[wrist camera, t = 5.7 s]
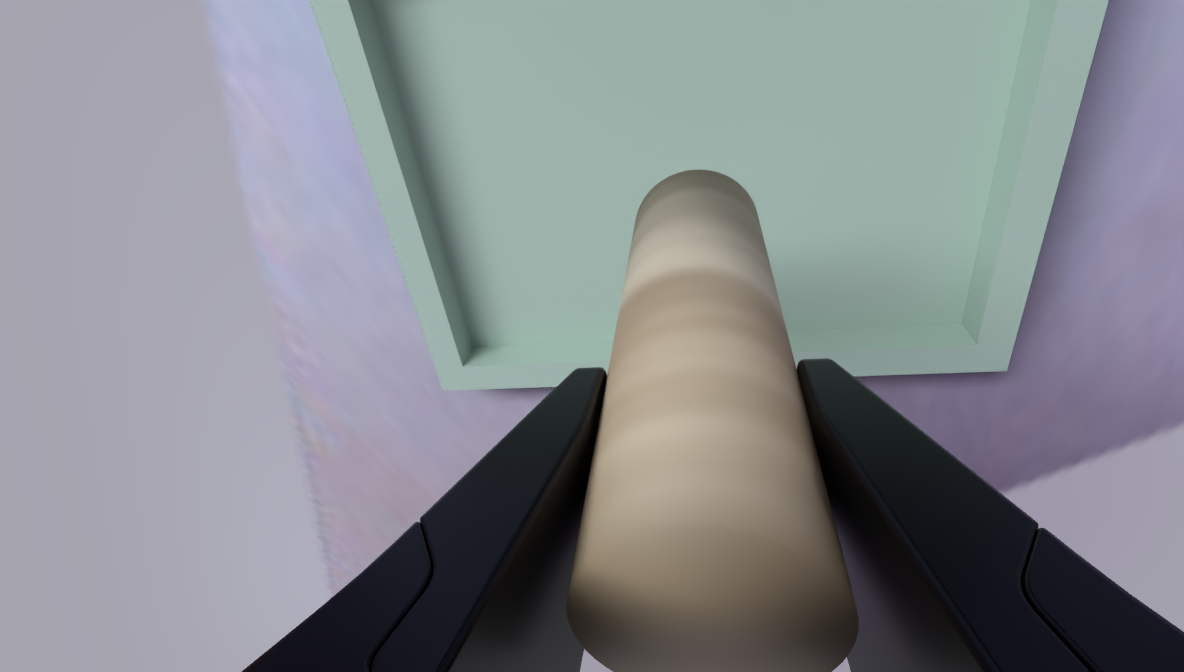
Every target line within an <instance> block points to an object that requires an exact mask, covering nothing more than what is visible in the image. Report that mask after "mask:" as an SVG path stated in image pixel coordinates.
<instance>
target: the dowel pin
mask: <svg viewBox="0 0 1184 672" xmlns="http://www.w3.org/2000/svg"><path fill="white" fill-rule="evenodd" d="M566 611H567V617H568V622H569V624H570V627H571V629H572V631H573V633H574V635H575V637H576V638H577V640H578V641H579V642H580V644H581V645H582V646H583V647H584V649H585V650H586V651H587V652H588V653H589V654H591V655H592V656H593V657H594V658H595V659H596V660H598V661H599V662H600V663H601V664H603V665H604V666H606V667H607V668H609V669H610V670H612V671H614V672H832V671H833V670H834V669H835V668H836V667H838V665H840V664H841V663H842V662H843V661H844V659H845V658H846V657H847V656H848V655H849V653H850V652H851V650H852V648H853V646H854V644H855V642H856V638H857V635H858V629H859V618H858V613H857V608H856V604H855V600H854V596H853V592H852V588H851V584H850V580H849V576H848V573H847V569H846V565H845V561H844V557H843V553H842V549H841V545H840V541H839V537H838V533H837V529H836V525H835V521H834V517H833V513H832V509H831V505H830V501H829V497H828V493H827V489H826V485H825V481H824V477H823V473H822V469H821V465H820V461H819V457H818V453H817V449H816V445H815V441H814V437H813V433H812V429H811V425H810V421H809V417H808V413H807V409H806V405H805V401H804V397H803V393H802V389H801V385H800V381H799V377H798V373H797V369H796V365H795V361H794V357H793V353H792V349H791V345H790V341H789V337H788V333H787V329H786V325H785V321H784V317H783V313H782V309H781V305H780V301H779V297H778V293H777V289H776V285H775V281H774V277H773V273H772V270H771V266H770V262H769V258H768V254H767V250H766V246H765V242H764V238H763V234H762V230H761V226H760V222H759V218H758V214H757V210H756V207H755V204H754V202H753V200H752V198H751V197H750V195H749V194H748V192H747V191H746V190H745V189H744V188H743V187H742V186H741V185H740V184H739V183H738V182H736V181H735V180H734V179H732V178H730V177H728V176H726V175H724V174H721V173H719V172H715V171H711V170H702V169H700V170H688V171H683V172H679V173H676V174H674V175H671V176H669V177H667V178H665V179H664V180H662V181H660V182H659V183H658V184H657V185H655V186H654V187H653V188H652V189H651V190H650V191H649V192H648V194H647V195H646V196H645V198H644V199H643V201H642V203H641V205H640V207H639V209H638V212H637V216H636V220H635V225H634V231H633V236H632V242H631V247H630V253H629V258H628V264H627V269H626V275H625V280H624V286H623V291H622V297H621V302H620V308H619V313H618V319H617V324H616V330H615V335H614V341H613V347H612V352H611V358H610V363H609V369H608V374H607V380H606V385H605V391H604V396H603V402H602V407H601V413H600V418H599V424H598V429H597V435H596V440H595V446H594V451H593V457H592V462H591V468H590V473H589V479H588V484H587V490H586V495H585V501H584V506H583V512H582V517H581V523H580V528H579V534H578V539H577V545H576V550H575V556H574V561H573V567H572V572H571V578H570V583H569V589H568V595H567V603H566Z"/></svg>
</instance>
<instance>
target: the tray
mask: <svg viewBox="0 0 1184 672" xmlns="http://www.w3.org/2000/svg"><path fill="white" fill-rule="evenodd" d="M309 1H310V4H311V7H312V10H313V13H314V15H315V18H316V21H317V24H318V27H319V30H320V33H321V36H322V39H323V42H324V45H325V48H326V50H327V53H328V56H329V59H330V62H331V65H332V68H333V71H334V74H335V77H336V80H337V83H338V86H339V88H340V91H341V94H342V97H343V100H344V103H345V106H346V109H347V112H348V115H349V118H350V121H351V124H352V126H353V129H354V132H355V135H356V138H357V141H358V144H359V147H360V150H361V153H362V156H363V159H364V162H365V164H366V167H367V170H368V173H369V176H370V179H371V182H372V185H373V188H374V191H375V194H376V197H377V200H378V202H379V205H380V208H381V211H382V214H383V217H384V220H385V223H386V226H387V229H388V232H389V235H390V237H391V240H392V243H393V246H394V249H395V252H396V255H397V258H398V261H399V264H400V267H401V270H402V273H403V275H404V278H405V281H406V284H407V287H408V290H409V293H410V296H411V299H412V302H413V305H414V308H415V311H416V313H417V316H418V319H419V322H420V325H421V328H422V331H423V334H424V337H425V340H426V343H427V346H428V349H429V351H430V354H431V357H432V360H433V363H434V366H435V369H436V372H437V375H438V378H439V381H440V384H441V387H442V389H443V391H449V390H478V389H507V388H535V387H557V386H558V385H559V384H560V383H561V382H562V381H563V380H564V379H565V378H566V377H567V376H568V375H569V374H570V373H571V372H572V371H574V370H575V369H577V368H588V367H602V368H604V370H605V371H606V374H608V369H609V363H610V358H611V352H612V347H613V341H614V335H615V330H616V324H617V319H618V313H619V308H620V302H621V297H622V291H623V286H624V280H625V275H626V269H627V264H628V258H629V253H630V247H631V242H632V236H633V231H634V225H635V220H636V216H637V212H638V209H639V207H640V205H641V203H642V201H643V199H644V198H645V196H646V195H647V194H648V192H649V191H650V190H651V189H652V188H653V187H654V186H655V185H657V184H658V183H659V182H660V181H662V180H664V179H665V178H667V177H669V176H671V175H674V174H676V173H679V172H683V171H688V170H700V169H702V170H711V171H715V172H719V173H721V174H724V175H726V176H728V177H730V178H732V179H734V180H735V181H736V182H738V183H739V184H740V185H741V186H742V187H743V188H744V189H745V190H746V191H747V192H748V194H749V195H750V197H751V198H752V200H753V202H754V204H755V207H756V210H757V214H758V218H759V222H760V226H761V230H762V234H763V238H764V242H765V246H766V250H767V254H768V258H769V262H770V266H771V270H772V273H773V277H774V281H775V285H776V289H777V293H778V297H779V301H780V305H781V309H782V313H783V317H784V321H785V325H786V329H787V333H788V337H789V341H790V345H791V349H792V353H793V357H794V361H795V365H796V369H797V365H798V363H799V361H800V360H802V359H821V358H829V359H832V360H833V361H835V362H836V363H837V364H839V365H840V366H841V367H842V368H844V369H845V370H846V371H847V372H849V373H850V374H851V375H852V376H880V375H909V374H938V373H966V372H995V371H1007V369H1008V365H1009V362H1010V358H1011V354H1012V351H1013V347H1014V343H1015V340H1016V336H1017V333H1018V329H1019V325H1020V322H1021V318H1022V314H1023V311H1024V307H1025V303H1026V300H1027V296H1028V293H1029V289H1030V285H1031V282H1032V278H1033V274H1034V271H1035V267H1036V263H1037V260H1038V256H1039V252H1040V249H1041V245H1042V242H1043V238H1044V234H1045V231H1046V227H1047V223H1048V220H1049V216H1050V212H1051V209H1052V205H1053V202H1054V198H1055V194H1056V191H1057V187H1058V183H1059V180H1060V176H1061V172H1062V169H1063V165H1064V162H1065V158H1066V154H1067V151H1068V147H1069V143H1070V140H1071V136H1072V132H1073V129H1074V125H1075V122H1076V118H1077V114H1078V111H1079V107H1080V103H1081V100H1082V96H1083V92H1084V89H1085V85H1086V81H1087V78H1088V74H1089V71H1090V67H1091V63H1092V60H1093V56H1094V52H1095V49H1096V45H1097V41H1098V38H1099V34H1100V31H1101V27H1102V23H1103V20H1104V16H1105V12H1106V9H1107V5H1108V1H1109V0H309Z"/></svg>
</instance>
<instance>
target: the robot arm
mask: <svg viewBox="0 0 1184 672" xmlns="http://www.w3.org/2000/svg"><path fill="white" fill-rule="evenodd" d="M797 373H798V377H799V381H800V385H801V389H802V393H803V397H804V401H805V405H806V409H807V413H808V417H809V421H810V425H811V429H812V433H813V437H814V441H815V445H816V449H817V453H818V457H819V461H820V465H821V469H822V473H823V477H824V481H825V485H826V489H827V493H828V497H829V501H830V505H831V509H832V513H833V517H834V521H835V525H836V529H837V533H838V537H839V541H840V545H841V549H842V553H843V557H844V561H845V565H846V569H847V573H848V576H849V580H850V584H851V588H852V592H853V596H854V600H855V604H856V608H857V613H858V618H859V629H858V635H857V638H856V642H855V644H854V646H853V648H852V650H851V652H850V653H849V655H848V656H847V659H848V662H849V666H850V670H851V672H1184V632H1183V631H1181V630H1180V629H1179V628H1177V627H1176V626H1174V625H1173V624H1171V623H1170V622H1169V621H1167V620H1166V619H1165V618H1163V617H1162V616H1160V615H1159V614H1157V613H1156V612H1154V611H1153V610H1152V609H1150V608H1149V607H1147V606H1146V605H1145V604H1143V603H1142V602H1140V601H1139V600H1138V599H1136V598H1135V597H1133V596H1132V595H1131V594H1129V593H1128V592H1127V591H1125V590H1124V589H1122V588H1121V587H1120V586H1119V585H1117V584H1116V583H1115V582H1113V581H1112V580H1111V579H1109V578H1108V577H1107V576H1106V575H1104V574H1103V573H1102V572H1100V571H1099V570H1098V569H1096V568H1095V567H1094V566H1092V565H1091V564H1090V563H1088V562H1087V561H1086V560H1084V559H1083V558H1082V557H1081V556H1079V555H1078V554H1077V553H1075V552H1074V551H1073V550H1072V549H1070V548H1069V547H1068V546H1067V545H1065V544H1064V543H1063V542H1062V541H1060V540H1059V539H1057V537H1055V536H1054V535H1053V534H1052V533H1050V532H1049V531H1048V530H1046V529H1044V528H1039V529H1038V523H1037V522H1036V521H1035V520H1033V519H1032V518H1031V517H1030V516H1028V515H1027V514H1026V513H1025V512H1023V511H1022V510H1021V509H1020V508H1018V507H1017V506H1016V505H1015V504H1013V503H1012V502H1011V501H1010V500H1008V499H1007V498H1006V497H1005V496H1003V495H1002V494H1001V493H1000V492H998V491H997V490H996V489H995V488H993V487H992V486H991V485H989V484H988V483H987V482H986V481H984V480H983V479H982V478H981V477H979V476H978V475H977V474H976V473H974V472H973V471H972V470H971V469H969V468H968V467H967V466H966V465H964V464H963V463H962V462H961V461H959V460H958V459H957V458H956V457H954V456H953V455H952V454H951V453H949V452H948V451H947V450H945V449H944V448H943V447H942V446H940V445H939V444H938V443H937V442H935V441H934V440H933V439H932V438H930V437H929V436H928V435H927V434H925V433H924V432H923V431H922V430H920V429H919V428H918V427H917V426H915V425H914V424H913V423H912V422H910V421H909V420H908V419H906V418H905V417H904V416H903V415H901V414H900V413H899V412H898V411H896V410H895V409H894V408H893V407H891V406H890V405H889V404H888V403H886V402H885V401H884V400H883V399H881V398H880V397H879V396H878V395H876V394H875V393H874V392H873V391H871V390H870V389H869V388H868V387H866V386H865V385H864V384H862V383H861V382H860V381H859V380H857V379H856V378H855V377H854V376H852V375H851V374H850V373H849V372H847V371H846V370H845V369H844V368H842V367H841V366H840V365H839V364H837V363H836V362H835V361H833V360H832V359H829V358H821V359H802V360H800V361H799V363H798V365H797ZM606 380H607V374H606V371H605V370H604V368H602V367H588V368H577V369H575V370H574V371H572V372H571V373H570V374H569V375H568V376H567V377H566V378H565V379H564V380H563V381H562V382H561V383H560V384H559V385H558V386H557V387H556V388H555V389H554V390H553V391H552V392H551V393H550V394H549V395H547V396H546V397H545V398H544V399H543V400H542V401H541V402H540V403H539V404H538V405H537V406H536V407H535V408H534V409H533V410H532V411H531V412H530V413H529V414H528V415H527V416H526V417H525V418H524V419H523V420H522V421H520V422H519V423H518V424H517V425H516V426H515V427H514V428H513V429H512V430H511V431H510V432H509V433H508V434H507V435H506V436H505V437H504V438H503V439H502V440H501V441H500V442H499V443H498V444H497V445H496V446H494V447H493V448H492V449H491V450H490V451H489V452H488V453H487V454H486V455H485V456H484V457H483V458H482V459H481V460H480V461H479V462H478V463H477V464H476V465H475V466H474V467H473V468H472V469H471V470H470V471H468V472H467V473H466V474H465V475H464V476H463V477H462V478H461V479H460V480H459V481H458V482H457V483H456V484H455V485H454V486H453V487H452V488H451V489H450V490H449V491H448V492H447V493H446V494H445V495H444V496H443V497H441V498H440V499H439V500H438V501H437V502H436V503H435V504H434V505H433V506H432V507H431V508H430V509H429V510H428V511H427V512H426V513H425V514H424V515H423V516H422V517H421V518H420V522H421V523H420V522H415V523H414V524H413V525H412V526H411V527H410V528H409V529H408V530H407V531H406V532H405V533H404V534H403V535H402V536H401V537H400V538H399V539H397V540H396V541H395V542H394V543H393V544H392V545H391V546H390V547H389V548H388V549H387V550H386V551H385V552H383V553H382V554H381V555H380V556H379V557H378V558H377V559H376V560H375V561H374V562H373V563H372V564H370V565H369V566H368V567H367V568H366V569H365V570H364V571H363V572H362V573H361V574H359V575H358V576H357V577H356V578H355V579H354V580H352V581H351V582H350V583H349V584H348V585H346V586H345V587H344V588H343V589H342V590H341V591H339V592H338V593H337V594H336V595H335V596H333V597H332V598H331V599H330V600H329V601H328V602H326V603H325V604H324V605H323V606H322V607H320V608H319V609H318V610H317V611H316V612H314V613H313V614H312V615H311V616H309V617H308V618H307V619H306V620H305V621H303V622H302V623H301V624H300V625H298V626H297V627H296V628H295V629H293V630H292V631H291V632H290V633H289V634H287V635H286V636H285V637H284V638H282V639H281V640H280V641H279V642H277V644H275V645H274V646H273V647H272V648H270V649H269V650H268V651H266V652H265V653H264V654H263V655H262V656H260V657H259V658H258V659H257V660H255V661H254V662H253V663H252V664H250V665H249V666H248V667H247V668H246V669H244V670H243V671H242V672H580V667H581V661H582V656H583V651H584V647H583V646H582V645H581V644H580V642H579V641H578V640H577V638H576V637H575V635H574V633H573V631H572V629H571V627H570V624H569V622H568V617H567V611H566V603H567V595H568V589H569V583H570V578H571V572H572V567H573V561H574V556H575V550H576V545H577V539H578V534H579V528H580V523H581V517H582V512H583V506H584V501H585V495H586V490H587V484H588V479H589V473H590V468H591V462H592V457H593V451H594V446H595V440H596V435H597V429H598V424H599V418H600V413H601V407H602V402H603V396H604V391H605V385H606ZM1037 529H1038V530H1037Z"/></svg>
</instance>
